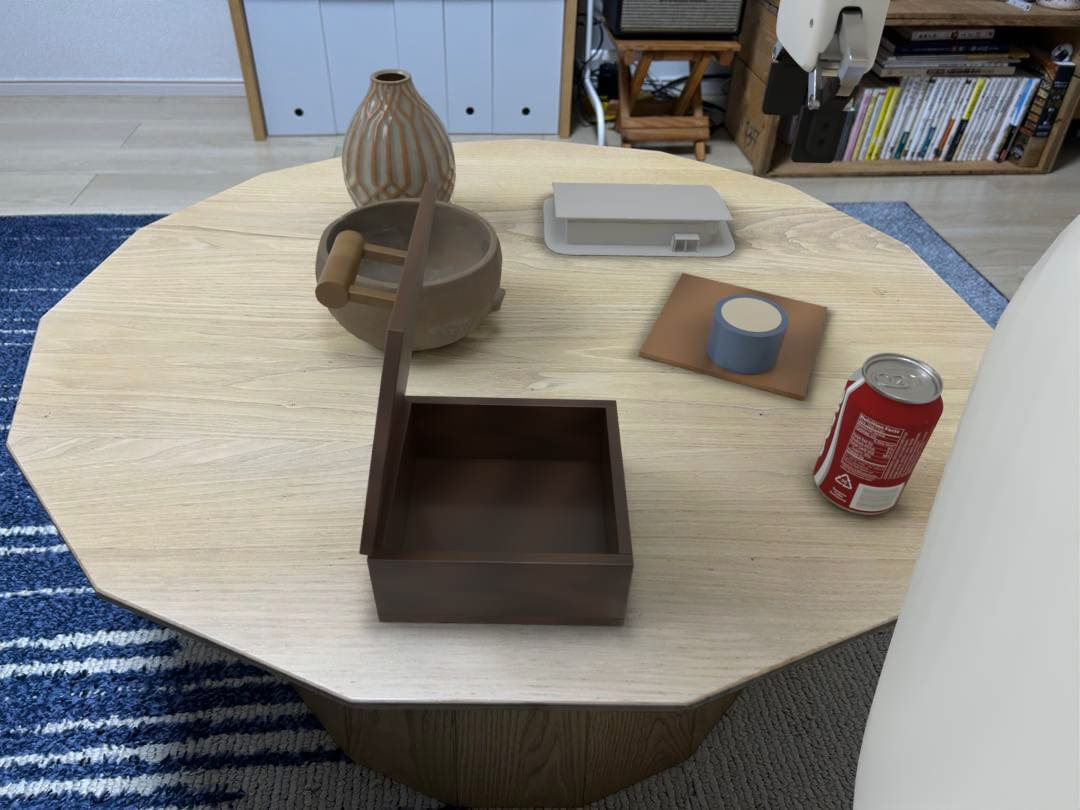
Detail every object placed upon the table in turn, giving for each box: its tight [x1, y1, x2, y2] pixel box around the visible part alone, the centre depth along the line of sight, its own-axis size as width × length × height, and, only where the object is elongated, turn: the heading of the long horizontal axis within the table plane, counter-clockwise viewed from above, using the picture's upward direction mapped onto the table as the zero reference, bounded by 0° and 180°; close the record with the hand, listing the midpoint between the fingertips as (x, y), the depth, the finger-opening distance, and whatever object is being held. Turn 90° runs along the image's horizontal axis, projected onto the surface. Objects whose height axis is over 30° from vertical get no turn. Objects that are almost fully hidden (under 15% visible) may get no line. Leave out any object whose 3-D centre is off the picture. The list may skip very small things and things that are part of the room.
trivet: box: [638, 272, 828, 401], centre depth 79 cm, size 16×16×1 cm
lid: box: [314, 181, 438, 556], centre depth 47 cm, size 18×16×5 cm
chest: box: [366, 395, 635, 627], centre depth 56 cm, size 17×16×7 cm
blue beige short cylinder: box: [706, 295, 789, 375], centre depth 74 cm, size 7×7×4 cm
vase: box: [341, 68, 457, 209], centre depth 89 cm, size 13×13×18 cm
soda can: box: [812, 352, 944, 516], centre depth 59 cm, size 7×7×12 cm
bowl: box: [314, 198, 507, 352], centre depth 75 cm, size 17×18×10 cm
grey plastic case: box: [542, 181, 736, 258], centre depth 94 cm, size 15×23×4 cm, turn 91°
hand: (794, 136), depth 61 cm, fingers open, 9 cm apart
